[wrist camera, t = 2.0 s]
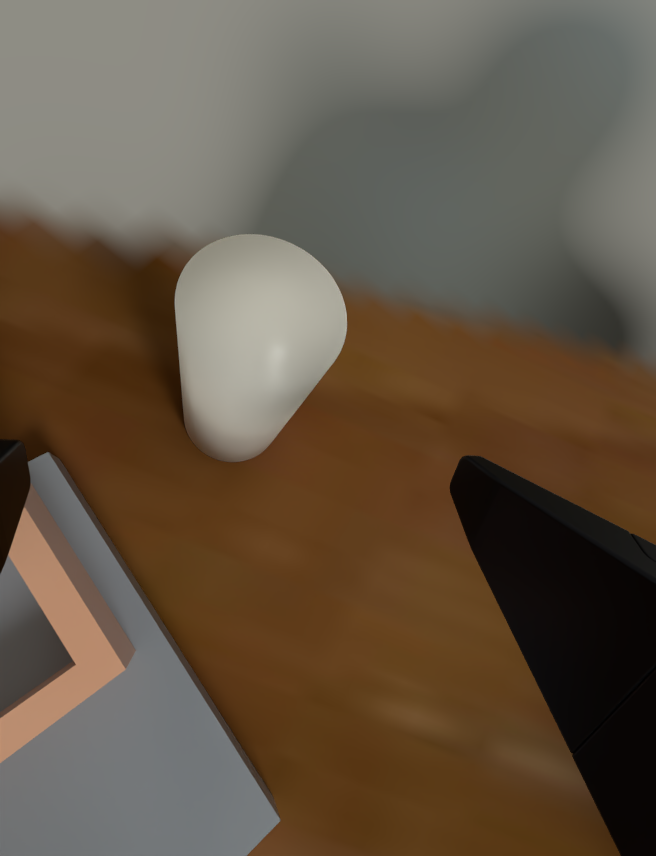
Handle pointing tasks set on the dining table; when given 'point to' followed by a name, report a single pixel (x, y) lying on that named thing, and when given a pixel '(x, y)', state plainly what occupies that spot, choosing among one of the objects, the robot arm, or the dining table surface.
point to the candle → (252, 340)
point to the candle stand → (106, 705)
